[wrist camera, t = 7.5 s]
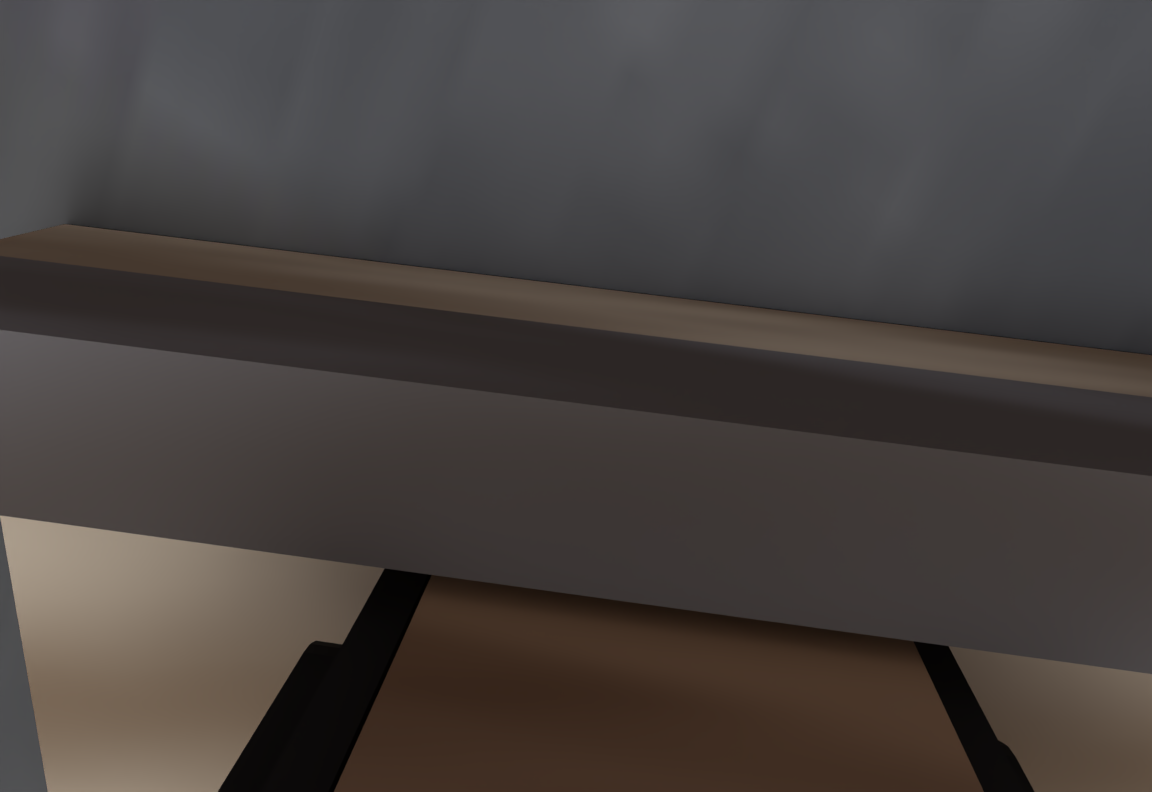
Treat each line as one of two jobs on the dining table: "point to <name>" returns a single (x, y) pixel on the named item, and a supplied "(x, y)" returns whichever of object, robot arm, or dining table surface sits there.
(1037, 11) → the dining table surface
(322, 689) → the robot arm
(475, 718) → the brown block with peg
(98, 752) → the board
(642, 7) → the dining table surface
